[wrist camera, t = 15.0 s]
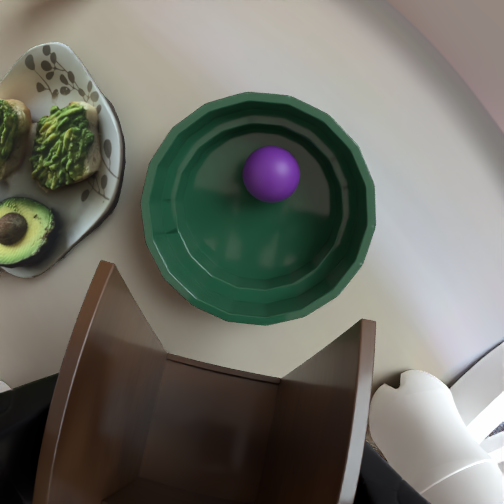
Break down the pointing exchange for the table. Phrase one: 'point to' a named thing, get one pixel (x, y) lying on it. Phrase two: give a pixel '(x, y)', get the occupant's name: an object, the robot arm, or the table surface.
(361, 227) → the bowl
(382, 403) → the water bottle
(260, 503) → the napkin holder
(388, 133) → the table surface
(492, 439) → the white circle with bar
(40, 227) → the salad plate
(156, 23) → the table surface
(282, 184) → the ball
